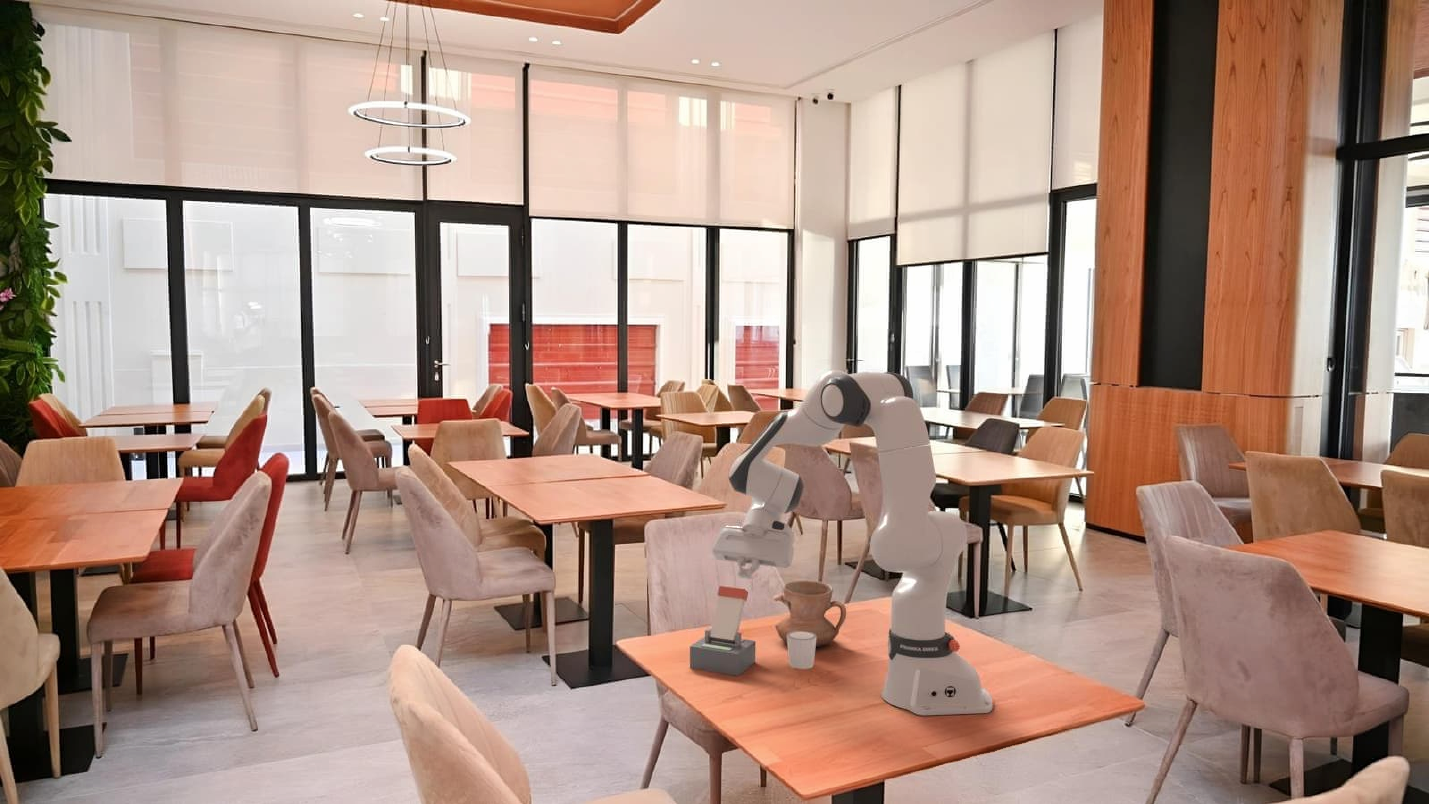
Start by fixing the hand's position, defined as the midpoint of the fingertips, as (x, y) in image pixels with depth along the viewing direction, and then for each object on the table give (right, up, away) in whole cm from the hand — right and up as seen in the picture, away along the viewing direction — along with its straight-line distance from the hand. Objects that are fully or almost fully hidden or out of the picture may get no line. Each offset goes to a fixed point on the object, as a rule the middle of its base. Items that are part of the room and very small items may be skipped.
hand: (743, 577), depth 231 cm
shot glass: (+13, -19, -9) cm, 25 cm away
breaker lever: (-5, -12, -10) cm, 17 cm away
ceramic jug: (+16, -18, +6) cm, 25 cm away
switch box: (-5, -18, -10) cm, 22 cm away
